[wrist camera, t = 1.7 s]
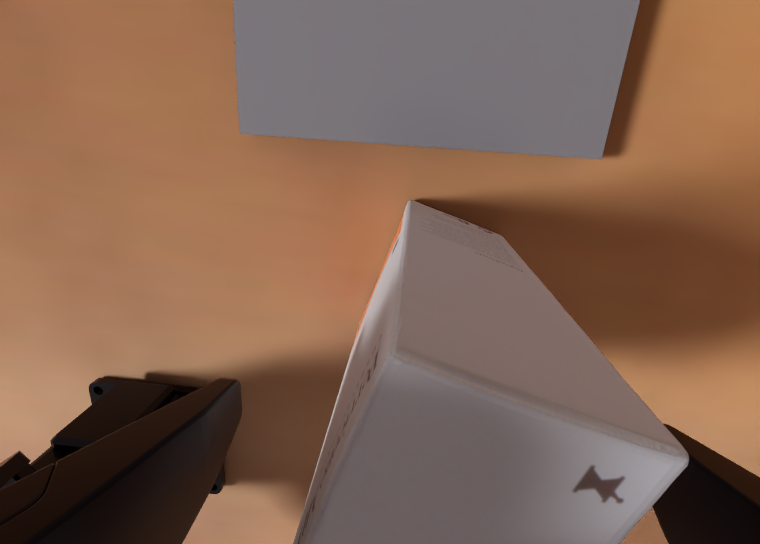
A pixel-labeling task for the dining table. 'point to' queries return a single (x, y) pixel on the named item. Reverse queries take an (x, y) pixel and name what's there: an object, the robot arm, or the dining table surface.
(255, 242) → the dining table surface
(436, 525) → the skincare box
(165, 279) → the dining table surface
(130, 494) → the robot arm
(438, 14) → the slate tile
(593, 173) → the dining table surface
